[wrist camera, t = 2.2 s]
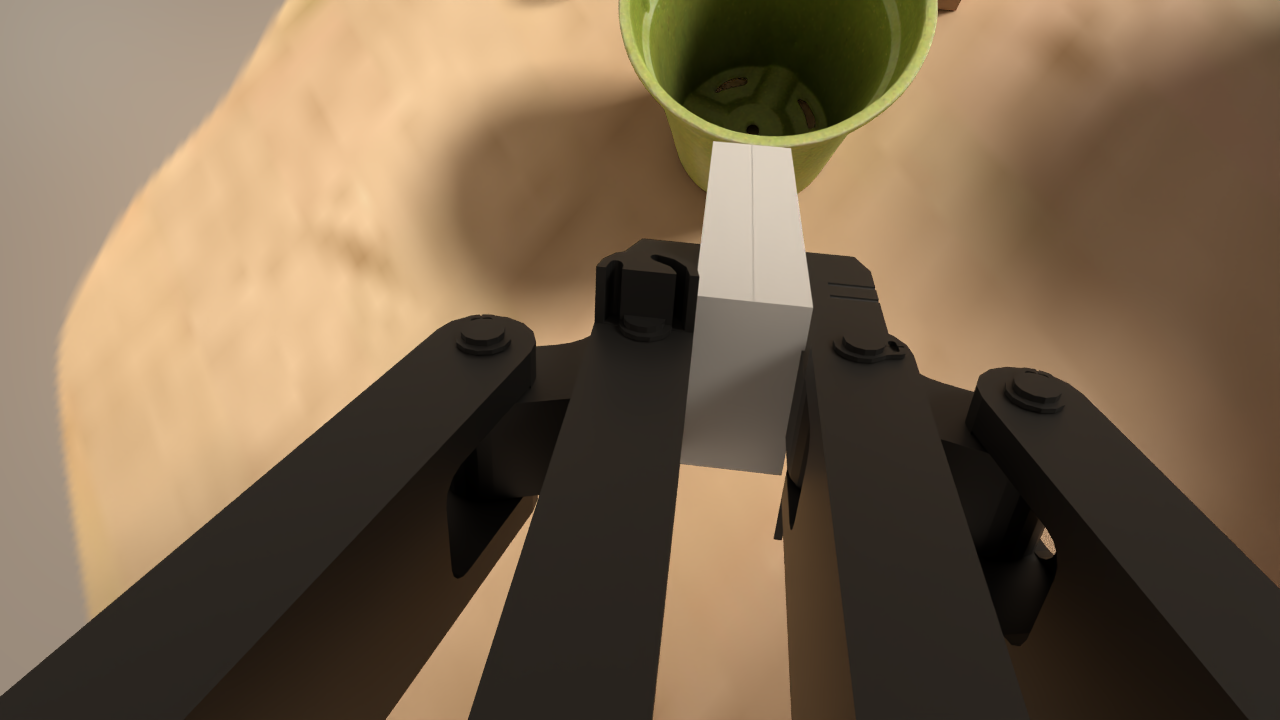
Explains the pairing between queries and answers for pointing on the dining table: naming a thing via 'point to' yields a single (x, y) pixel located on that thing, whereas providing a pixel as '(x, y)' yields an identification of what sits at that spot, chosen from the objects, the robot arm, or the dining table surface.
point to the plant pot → (774, 70)
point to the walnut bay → (948, 4)
